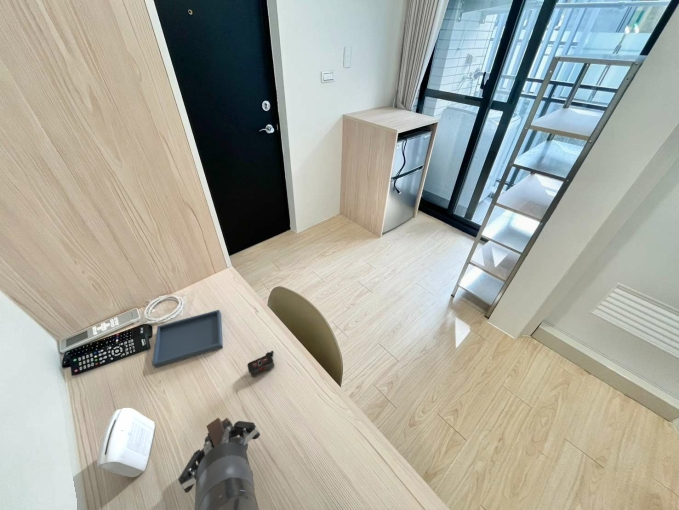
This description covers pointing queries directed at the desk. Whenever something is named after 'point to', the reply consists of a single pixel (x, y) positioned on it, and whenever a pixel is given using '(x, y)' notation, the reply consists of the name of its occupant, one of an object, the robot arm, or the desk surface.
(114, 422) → the photo printer
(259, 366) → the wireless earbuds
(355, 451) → the desk surface
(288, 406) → the desk surface
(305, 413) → the desk surface
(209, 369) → the desk surface
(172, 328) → the tray
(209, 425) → the brown wooden block
